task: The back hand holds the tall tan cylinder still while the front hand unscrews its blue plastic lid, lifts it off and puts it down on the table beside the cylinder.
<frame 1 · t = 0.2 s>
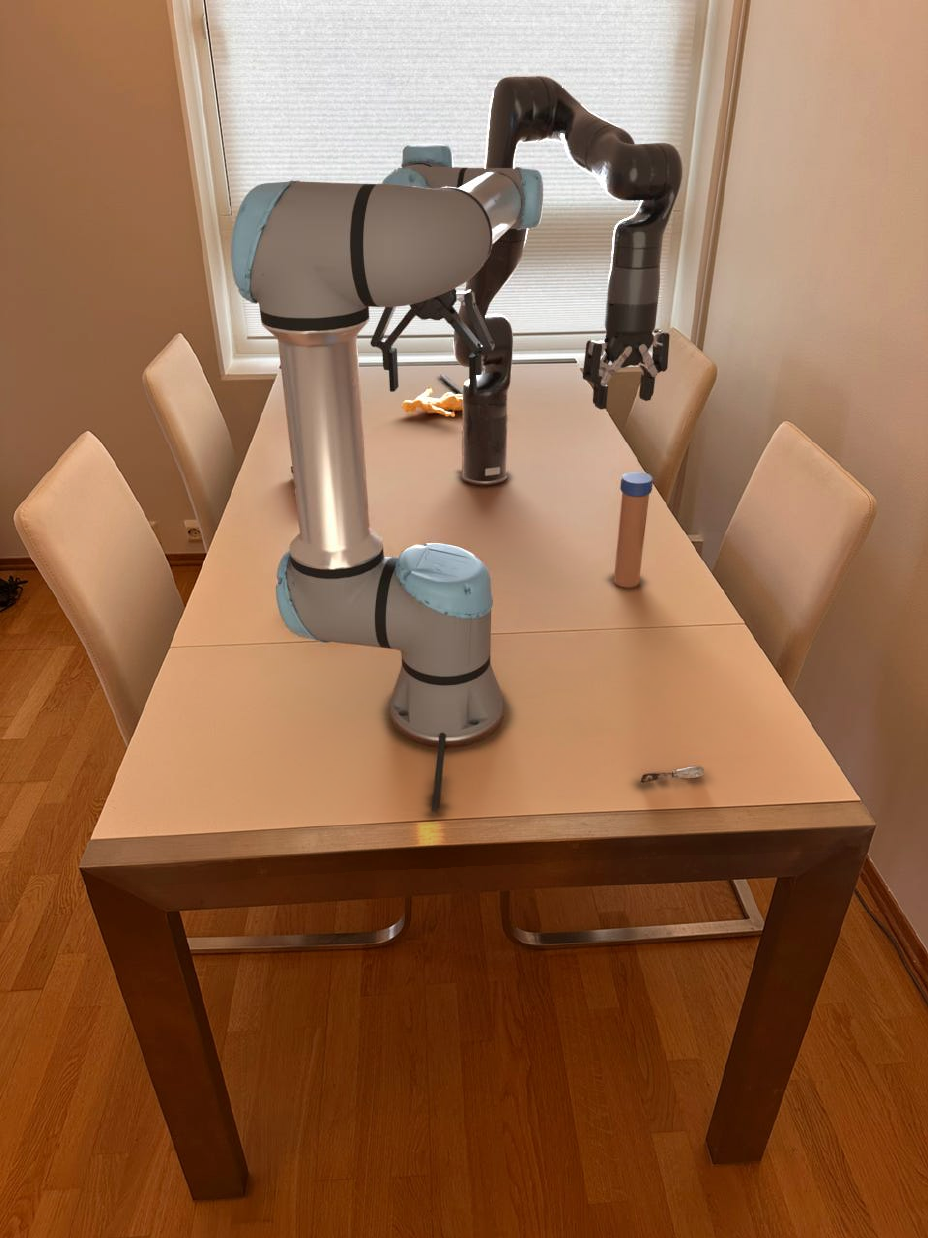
front hand: (433, 391, 149), 28 cm above the table, tool pointing down, fingers open, 13 cm apart
back hand: (622, 403, 140), 29 cm above the table, tool pointing down, fingers open, 8 cm apart
handgun: (323, 488, 185), on the table
human figure: (450, 410, 226), on the table
tall tan cylinder: (626, 581, 151), on the table
putty knife: (671, 781, 109), on the table
stone: (337, 594, 148), on the table
lid: (637, 479, 141), point 19 cm above the table, screwed on, not yet turned
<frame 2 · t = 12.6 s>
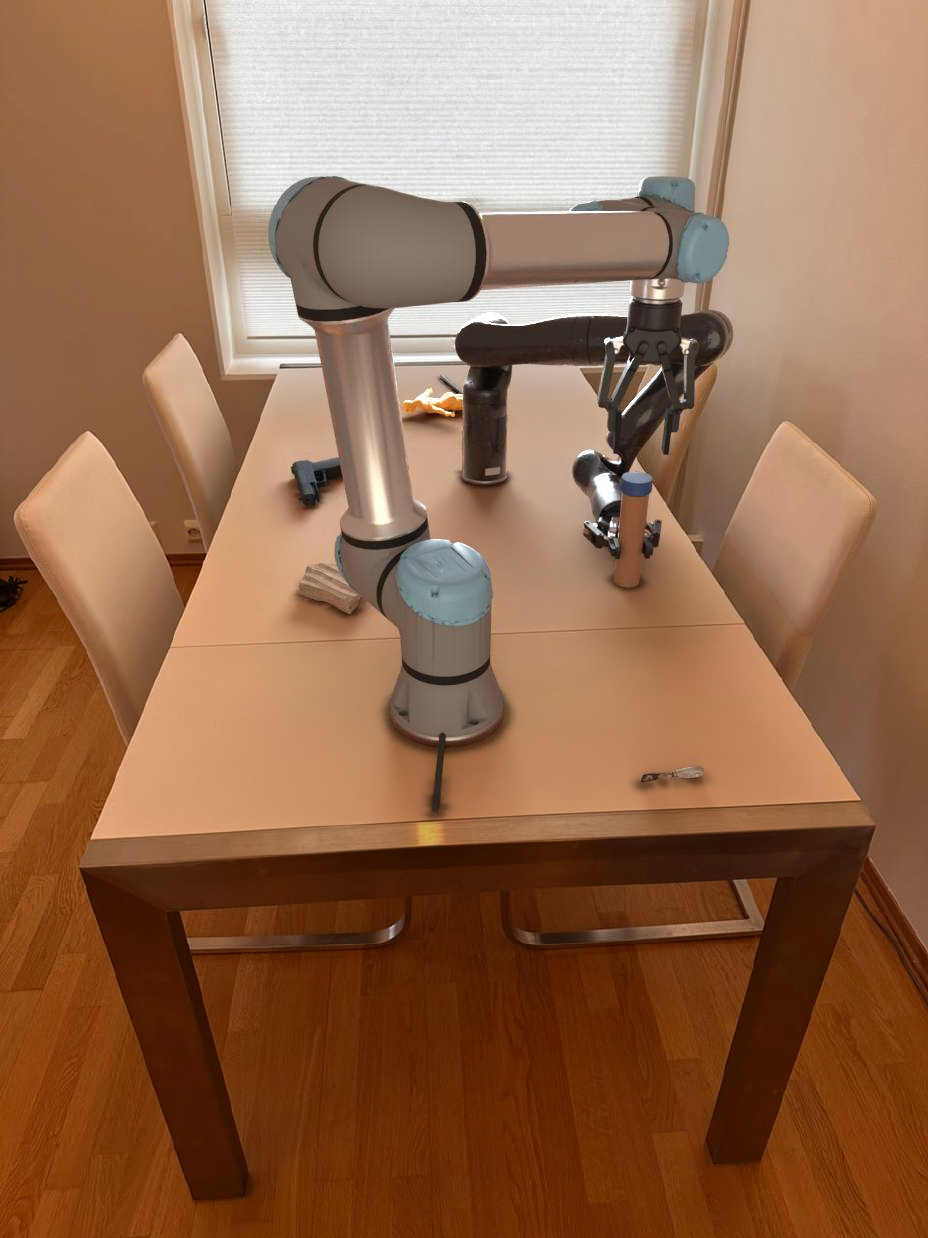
front hand: (640, 450, 139), 23 cm above the table, tool pointing down, fingers open, 7 cm apart
back hand: (633, 553, 145), 7 cm above the table, tool horizontal, fingers closed on tall tan cylinder, 4 cm apart
tall tan cylinder: (626, 581, 151), on the table, touching back hand
everything else where it was.
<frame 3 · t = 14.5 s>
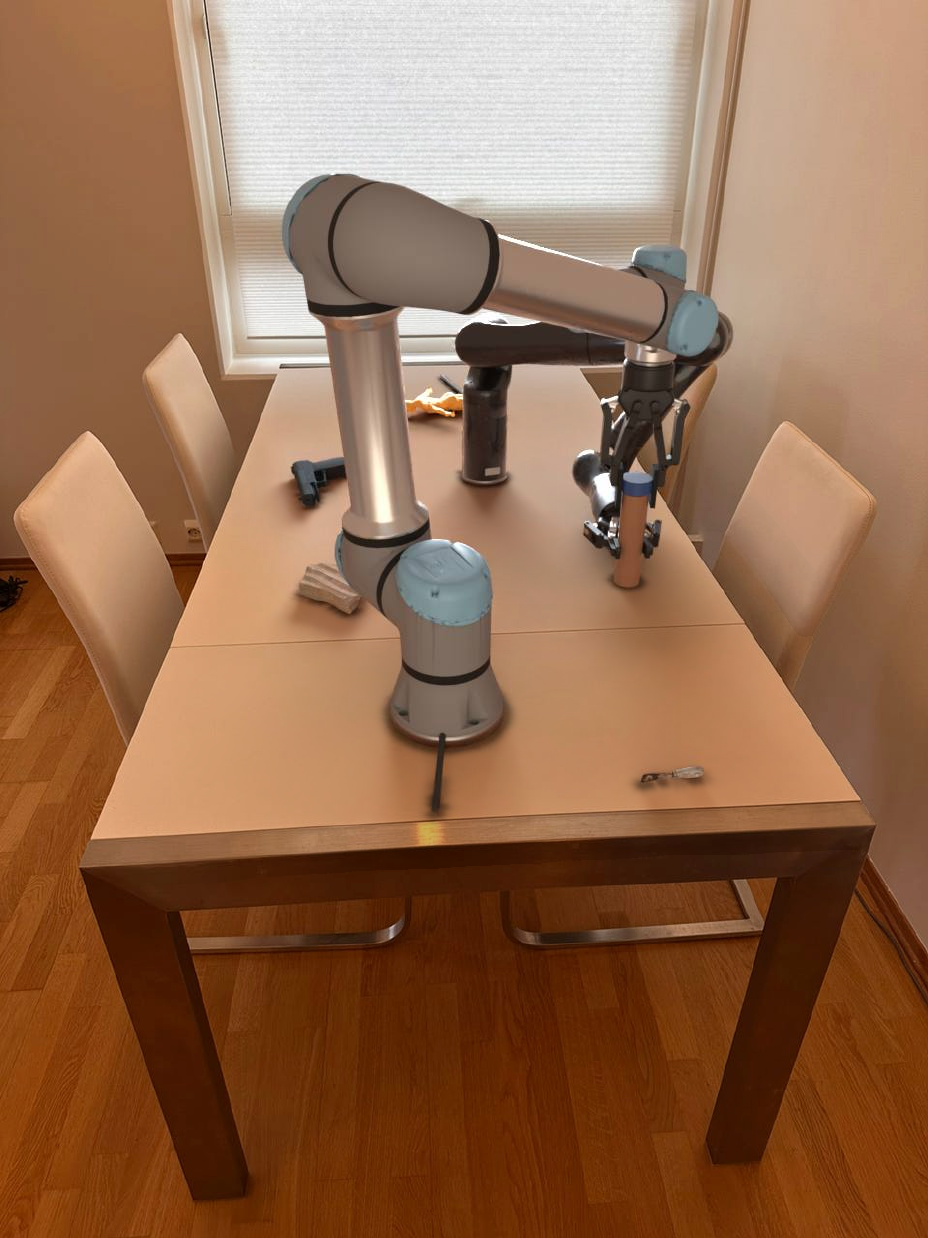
front hand: (634, 503, 144), 14 cm above the table, tool pointing down, fingers closed on lid, 5 cm apart
back hand: (633, 553, 145), 7 cm above the table, tool horizontal, fingers closed on tall tan cylinder, 4 cm apart
tall tan cylinder: (626, 581, 151), on the table, touching back hand
lid: (637, 479, 141), point 19 cm above the table, screwed on, not yet turned, touching front hand
everything else where it was.
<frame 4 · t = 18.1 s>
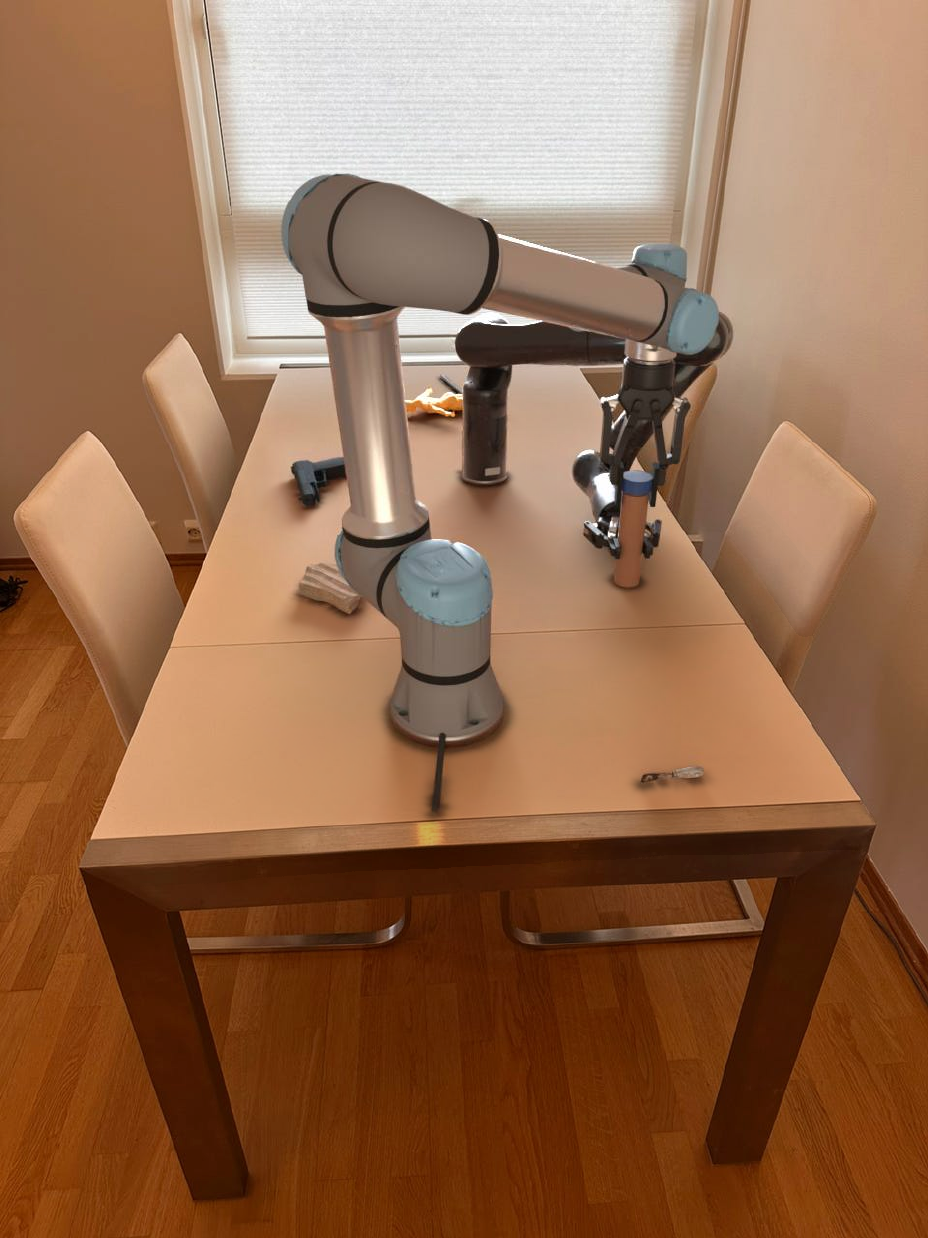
front hand: (634, 502, 144), 15 cm above the table, tool pointing down, fingers closed on lid, 5 cm apart
back hand: (633, 553, 145), 7 cm above the table, tool horizontal, fingers closed on tall tan cylinder, 4 cm apart
tall tan cylinder: (626, 581, 151), on the table, touching back hand
lid: (637, 478, 141), point 19 cm above the table, turned 123° so far, risen 0.2 cm, still on its thread, touching front hand
everything else where it was.
when the front hand's fingers open (0 cm above the table, at t = 29.0 s): lid drops 2 cm, point 2 cm above the table.
when the back hand's fingers open (7 cm above the table, at t = 29.6 s): tall tan cylinder stays where it is, on the table.
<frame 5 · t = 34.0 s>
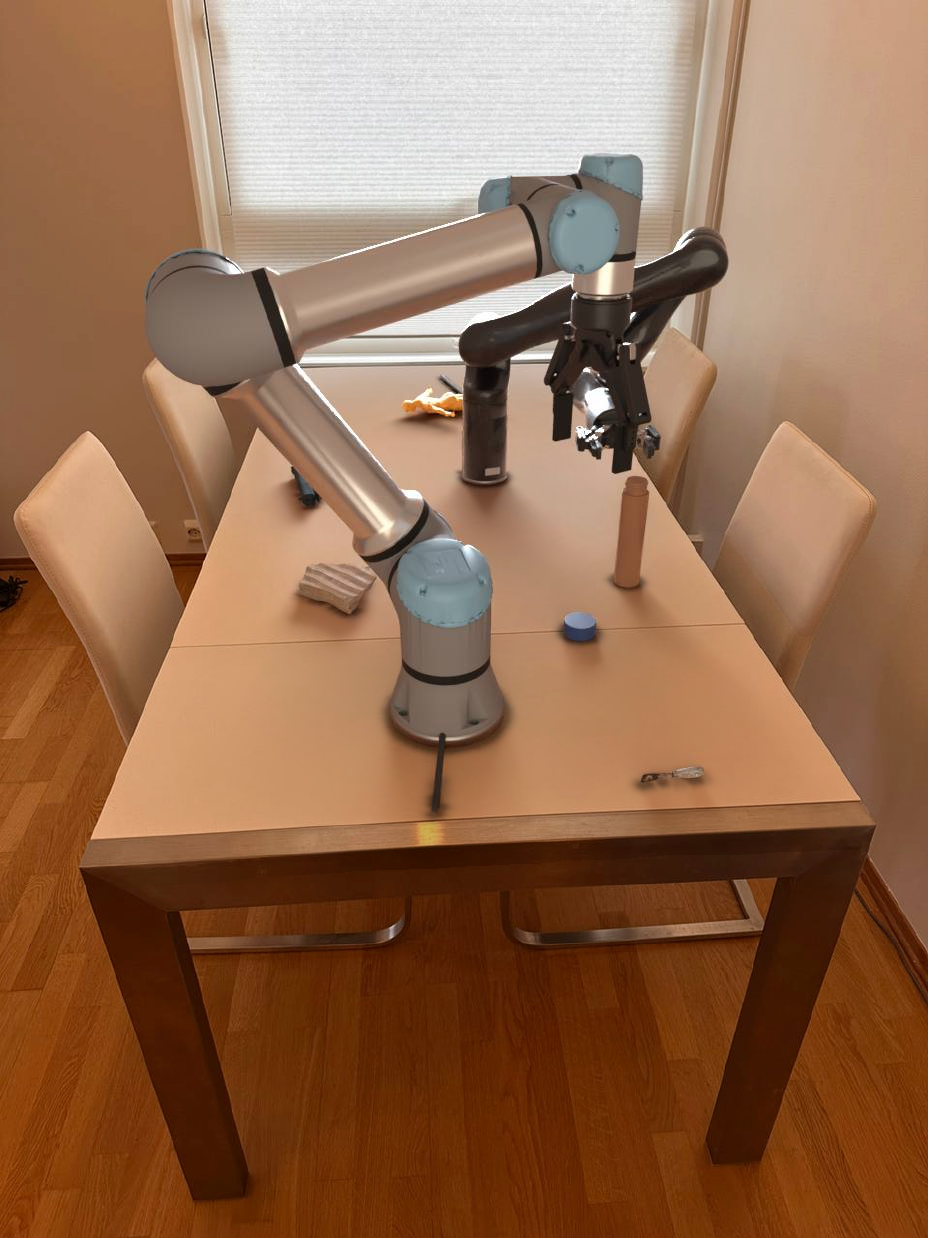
front hand: (590, 454, 122), 29 cm above the table, tool pointing down, fingers open, 13 cm apart
back hand: (624, 453, 150), 19 cm above the table, tool horizontal, fingers open, 8 cm apart
tall tan cylinder: (626, 581, 151), on the table
lid: (580, 622, 137), point 2 cm above the table, off its thread
everything else where it was.
at the end: lid came off its thread; lid point 1.9 cm above the table; the front hand is holding nothing; the back hand is holding nothing; tall tan cylinder tilted 0°; tall tan cylinder moved 0.0 cm from its start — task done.
